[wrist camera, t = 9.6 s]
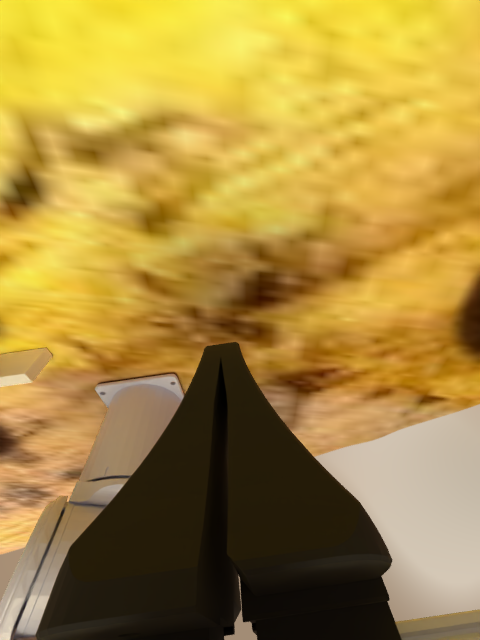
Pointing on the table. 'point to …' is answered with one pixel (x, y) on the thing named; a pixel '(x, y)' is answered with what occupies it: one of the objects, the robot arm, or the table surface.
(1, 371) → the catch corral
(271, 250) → the table surface
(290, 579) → the robot arm
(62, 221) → the table surface
